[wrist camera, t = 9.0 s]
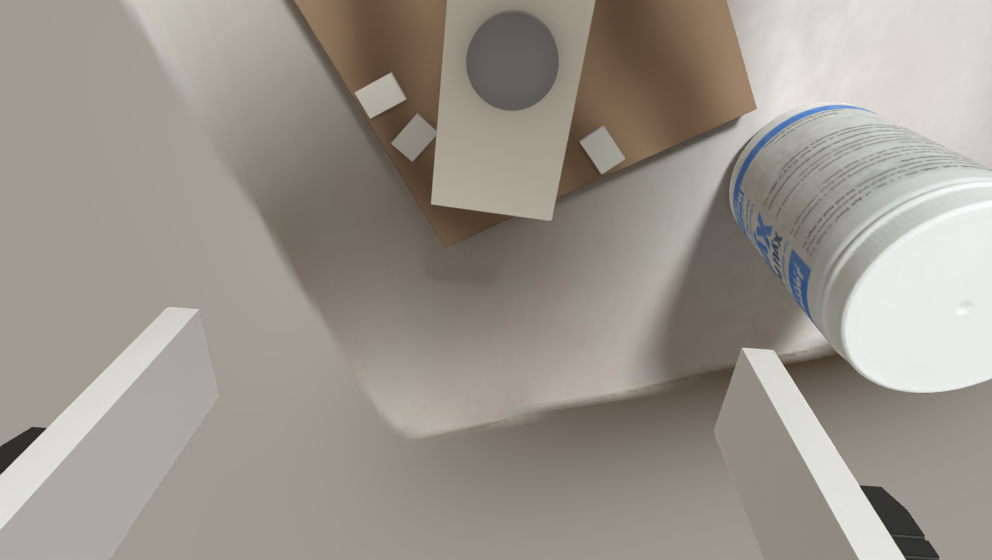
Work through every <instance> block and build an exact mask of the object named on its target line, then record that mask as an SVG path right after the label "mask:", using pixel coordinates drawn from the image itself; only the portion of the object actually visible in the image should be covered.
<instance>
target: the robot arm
mask: <svg viewBox="0 0 992 560" xmlns="http://www.w3.org/2000/svg"><path fill="white" fill-rule="evenodd" d="M219 397H220V394H219V390H218V386H217V382H216V377H215V373H214V369H213V365H212V361H211V356H210V352H209V348H208V343H207V339H206V335H205V331H204V326H203V322H202V318H201V314H200V310H199V309H192V308H178V307H167V308H166V309H165V310H164V311H163V312H162V313H161V314H160V315H159V316H158V317H157V318H156V319H155V320H154V321H153V322H152V323H151V324H150V325H149V326H148V327H147V328H146V329H145V330H144V331H143V332H142V333H141V334H140V336H138V337H137V338H136V340H134V341H133V342H132V343H131V344H130V345H129V346H128V347H127V348H126V349H125V350H124V352H122V353H121V355H119V357H117V358H116V359H115V360H114V361H113V363H112V364H111V365H109V367H107V369H105V370H104V372H103V373H102V374H101V375H100V376H99V377H98V378H97V379H96V380H95V381H94V382H93V383H92V384H91V385H90V386H89V387H88V388H87V389H86V390H85V391H84V392H83V393H82V394H81V395H80V396H79V397H78V398H77V399H76V400H75V401H74V402H73V403H72V404H71V405H70V406H69V407H68V408H67V409H66V410H65V411H64V412H63V413H62V414H61V415H60V416H59V417H58V418H57V419H56V420H55V421H54V422H53V423H52V424H51V425H50V426H49V427H48V428H39V427H31V428H30V429H28V430H27V431H25V432H23V433H22V434H20V435H18V436H17V437H15V438H13V439H12V440H10V441H8V442H7V443H5V444H3V445H2V446H1V447H0V560H109V559H110V557H111V556H112V554H113V553H114V552H115V550H116V549H117V547H118V546H119V544H120V543H121V541H122V540H123V538H124V537H125V535H126V534H127V532H128V531H129V529H130V528H131V526H132V525H133V523H134V522H135V521H136V519H137V518H138V516H139V515H140V513H141V512H142V510H143V509H144V507H145V506H146V504H147V503H148V501H149V500H150V499H151V497H152V496H153V494H154V493H155V491H156V490H157V488H158V487H159V485H160V484H161V482H162V480H163V479H164V478H165V476H166V475H167V473H168V472H169V470H170V469H171V468H172V466H173V464H174V463H175V462H176V460H177V459H178V457H179V456H180V454H181V453H182V451H183V450H184V448H185V447H186V445H187V444H188V443H189V441H190V439H191V438H192V437H193V435H194V433H195V432H196V430H197V429H198V428H199V426H200V425H201V423H202V422H203V420H204V419H205V417H206V416H207V415H208V413H209V412H210V410H211V408H212V407H213V406H214V404H215V403H216V401H217V400H218V398H219ZM714 434H715V437H716V439H717V442H718V444H719V447H720V449H721V452H722V454H723V457H724V459H725V462H726V464H727V467H728V469H729V472H730V475H731V477H732V479H733V482H734V485H735V487H736V490H737V492H738V495H739V497H740V499H741V502H742V505H743V507H744V510H745V512H746V515H747V517H748V519H749V522H750V525H751V527H752V530H753V532H754V535H755V537H756V540H757V542H758V545H759V547H760V550H761V552H762V555H763V557H764V560H939V556H938V554H937V553H936V551H935V550H934V548H933V547H932V545H931V544H930V543H929V541H926V540H925V538H924V536H925V535H924V534H923V532H922V531H921V530H920V528H919V527H918V525H917V524H916V522H915V521H914V519H913V518H912V516H911V515H910V513H909V512H908V511H907V509H905V508H904V507H903V506H902V505H901V504H900V503H899V502H898V501H896V500H895V499H894V498H893V497H892V496H891V495H890V494H889V493H887V492H886V491H885V490H884V489H883V488H882V487H874V486H860V485H858V484H857V482H856V480H855V478H854V477H853V475H852V474H851V472H850V470H849V469H848V467H847V466H846V464H845V463H844V461H843V459H842V458H841V456H840V455H839V453H838V451H837V450H836V448H835V447H834V445H833V444H832V442H831V440H830V439H829V437H828V436H827V434H826V432H825V431H824V429H823V428H822V426H821V425H820V423H819V421H818V420H817V418H816V416H815V415H814V414H813V412H812V410H811V409H810V407H809V405H808V404H807V402H806V401H805V399H804V397H803V396H802V394H801V393H800V391H799V390H798V388H797V386H796V385H795V383H794V382H793V380H792V378H791V377H790V375H789V374H788V372H787V370H786V369H785V367H784V366H783V364H782V363H781V361H780V359H779V358H778V356H777V355H776V353H775V351H774V350H767V349H753V348H741V351H740V354H739V357H738V360H737V363H736V366H735V369H734V372H733V376H732V378H731V381H730V384H729V387H728V390H727V393H726V396H725V399H724V402H723V405H722V408H721V411H720V414H719V417H718V420H717V423H716V426H715V429H714Z"/></svg>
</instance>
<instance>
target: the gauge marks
mask: <svg viewBox="0 0 992 560" xmlns="http://www.w3.org/2000/svg"><path fill="white" fill-rule="evenodd" d="M355 95H356V96H357V98H358V100H359V101H360V103H361V104H362V106H363V108H364V109H365V111H366V113H367V114H368V116H369V118H370V119H371V118H372V117H374V116H376V115H378V114H380V113H382V112H384V111H386V110H387V109H389V108H391V107H393V106H395V105H397V104H399V103H401V102H402V101H404V100H406V99H407V98H406V96H405V95H404V93H403V91H402V89H401V88H400V86H399V84H398V82H397V80H396V79H395V77H394V75H393V73H392V72H391V73H389V74H387V75H385V76H384V77H382V78H380V79H378V80H376V81H375V82H373V83H371V84H369V85H367V86H365V87H364V88H362V89H360V90H358V91H356V92H355ZM436 134H437V129H436V128H435V127H433V126H432V125H431V124H430V123H429V122H428V121H427V120H426V119H425V118H423V117H422V116H421V115H420V114H419V113H417V114H416V115H415V116H414V117H413V118H412V120H411V121H410V122H409V123H408V124H407V125H406V127H405V128H404V129H403V130H402V131H401V132H400V134H399V135H398V136H397V137H396V138H395V139H394V140H393V142H392V143H391V144H392V145H393V146H394V147H396V148H397V149H398V150H399V151H400V152H401V153H403V154H404V155H405V156H406V157H407V158H408V159H410V160H411V161H412V162H413V161H414V160H415V158H416V157H417V156H418V155H419V154H420V153H421V152H422V151H423V150H424V148H425V147H426V146H427V145H428V144H429V143H430V142H431V141H432V140H433V138H434V137H435V136H436ZM579 142H580V143H581V145H582V146H583V148H584V149H585V151H586V152H587V154H588V155H589V157H590V158H591V159H592V161H593V162H594V164H595V165H596V167H597V168H598V170H599V171H600V173H601V174H603V173H605V172H606V171H608V170H609V169H611V168H612V167H614V166H616V165H617V164H619V163H620V162H622V161H623V160H625V157H624V156H623V154H622V153H621V151H620V150H619V148H618V146H617V145H616V143H615V142H614V140H613V139H612V137H611V136H610V134H609V133H608V131H607V130H606V128H605V127H604V125H601V126H600V127H599V128H597V129H596V130H594V131H593V132H591V133H590V134H588V135H587V136H585V137H584V138H582V139H581V140H580V141H579Z"/></svg>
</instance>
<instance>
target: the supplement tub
mask: <svg viewBox="0 0 992 560" xmlns="http://www.w3.org/2000/svg"><path fill="white" fill-rule="evenodd" d="M729 200H730V207H731V210H732V214H733V216H734V218H735V220H736V222H737V224H738V226H739V227H740V229H741V230H742V231H743V233H744V234H745V235H746V237H747V238H748V239H749V240H750V242H751V243H752V244H753V246H754V247H755V248H756V249H757V251H758V252H759V253H760V255H761V256H762V257H763V259H764V260H765V261H766V262H767V264H768V265H769V266H770V268H771V269H772V270H773V272H774V273H775V274H776V275H777V277H778V278H779V279H780V281H781V282H782V283H783V285H784V286H785V287H786V288H787V290H788V291H789V292H790V294H791V295H792V296H793V297H794V299H795V300H796V301H797V302H798V304H799V305H800V306H801V308H802V309H803V310H804V312H805V313H806V314H807V316H808V317H809V318H810V319H811V321H812V322H813V323H814V325H815V326H816V327H817V328H818V330H819V331H820V332H821V333H822V334H823V336H824V337H825V338H826V340H827V341H828V342H829V343H830V344H831V346H832V347H833V348H834V349H835V350H836V351H837V352H838V353H839V354H840V355H841V356H842V357H843V358H844V359H846V360H847V361H848V362H849V363H850V364H851V365H852V366H853V367H854V368H855V370H856V371H857V372H858V373H860V374H861V375H862V376H864V377H865V378H866V379H868V380H870V381H872V382H874V383H876V384H878V385H880V386H883V387H886V388H890V389H893V390H899V391H904V392H916V393H930V392H943V391H948V390H954V389H960V388H963V387H967V386H971V385H974V384H977V383H980V382H983V381H986V380H989V379H991V378H992V170H991V169H989V168H987V167H985V166H983V165H981V164H979V163H977V162H975V161H973V160H970V159H968V158H966V157H964V156H962V155H960V154H958V153H956V152H954V151H952V150H950V149H948V148H946V147H944V146H942V145H939V144H937V143H935V142H933V141H931V140H929V139H927V138H925V137H923V136H921V135H919V134H917V133H915V132H913V131H911V130H909V129H907V128H904V127H902V126H900V125H898V124H896V123H894V122H892V121H890V120H888V119H886V118H884V117H882V116H880V115H878V114H876V113H874V112H871V111H869V110H867V109H864V108H862V107H859V106H856V105H853V104H848V103H842V102H819V103H813V104H808V105H804V106H801V107H799V108H796V109H793V110H791V111H789V112H786V113H784V114H783V115H781V116H779V117H777V118H776V119H774V120H773V121H771V122H770V123H768V124H767V125H766V126H765V127H763V128H762V129H761V130H760V131H759V132H758V133H757V134H756V135H755V136H754V137H753V138H752V139H751V140H750V142H749V143H748V144H747V145H746V147H745V148H744V150H743V151H742V153H741V154H740V156H739V158H738V160H737V162H736V164H735V167H734V169H733V173H732V176H731V180H730V187H729Z"/></svg>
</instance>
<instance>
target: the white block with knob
mask: <svg viewBox="0 0 992 560" xmlns="http://www.w3.org/2000/svg"><path fill="white" fill-rule="evenodd" d="M595 1H596V0H447V9H446V22H445V34H444V47H443V59H442V72H441V84H440V97H439V109H438V122H437V134H436V147H435V160H434V172H433V185H432V197H431V204H432V205H440V206H447V207H454V208H461V209H468V210H476V211H483V212H490V213H497V214H504V215H511V216H519V217H526V218H533V219H540V220H547V221H552V217H553V211H554V206H555V201H556V196H557V191H558V186H559V181H560V176H561V171H562V166H563V161H564V156H565V151H566V146H567V141H568V136H569V131H570V126H571V121H572V116H573V111H574V106H575V101H576V96H577V91H578V86H579V81H580V76H581V71H582V66H583V61H584V56H585V51H586V46H587V41H588V36H589V31H590V26H591V21H592V16H593V11H594V6H595Z"/></svg>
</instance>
